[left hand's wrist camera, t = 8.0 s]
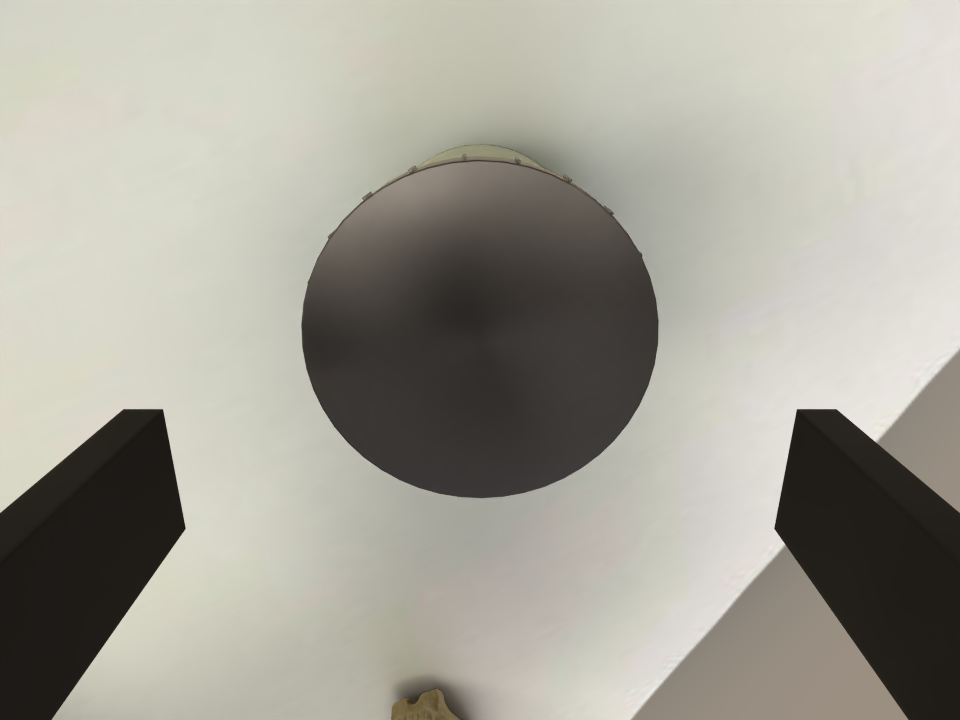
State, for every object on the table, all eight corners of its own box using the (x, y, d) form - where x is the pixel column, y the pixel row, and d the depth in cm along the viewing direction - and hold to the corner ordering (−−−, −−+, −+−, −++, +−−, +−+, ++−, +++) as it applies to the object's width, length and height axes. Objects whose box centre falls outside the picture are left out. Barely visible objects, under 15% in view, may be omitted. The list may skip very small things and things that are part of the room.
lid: (244, 332, 22) (226, 349, 20) (477, 70, 19) (478, 67, 17) (481, 527, 24) (481, 556, 23) (716, 325, 21) (735, 341, 20)
